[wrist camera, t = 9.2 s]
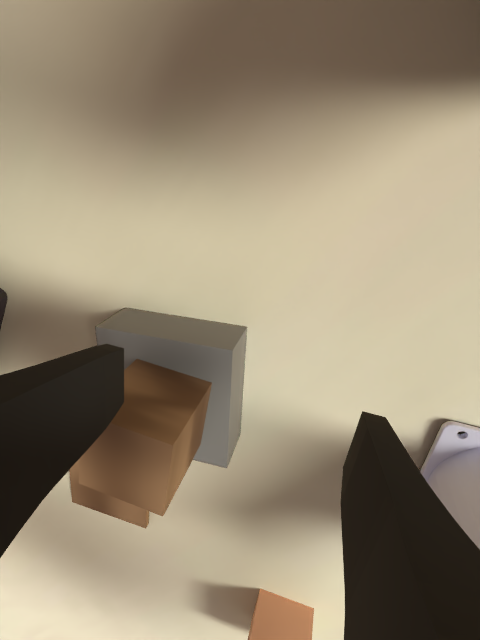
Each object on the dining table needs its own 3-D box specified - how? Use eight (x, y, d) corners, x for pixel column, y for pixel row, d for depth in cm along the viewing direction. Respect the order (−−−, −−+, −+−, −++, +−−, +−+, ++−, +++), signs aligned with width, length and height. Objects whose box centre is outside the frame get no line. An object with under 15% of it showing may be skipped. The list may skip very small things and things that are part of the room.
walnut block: (211, 382, 20) (173, 445, 15) (200, 444, 22) (162, 516, 17) (136, 358, 20) (78, 411, 16) (132, 420, 22) (78, 483, 18)
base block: (248, 324, 22) (232, 350, 19) (241, 430, 25) (226, 468, 22) (128, 305, 23) (95, 326, 20) (136, 407, 27) (108, 439, 23)
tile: (151, 462, 28) (147, 467, 27) (148, 523, 31) (145, 528, 30) (71, 436, 29) (66, 440, 29) (76, 497, 32) (72, 501, 31)
